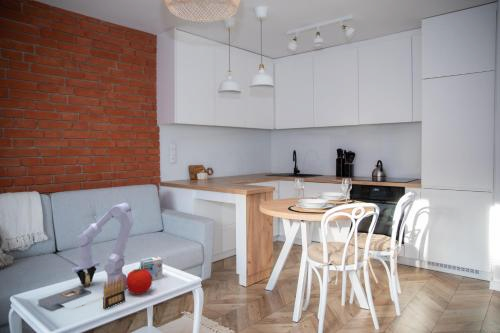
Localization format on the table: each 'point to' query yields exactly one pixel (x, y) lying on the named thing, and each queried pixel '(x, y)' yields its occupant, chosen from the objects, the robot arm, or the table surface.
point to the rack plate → (62, 298)
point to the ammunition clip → (113, 293)
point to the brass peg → (87, 280)
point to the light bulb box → (152, 266)
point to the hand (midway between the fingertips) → (86, 283)
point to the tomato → (139, 281)
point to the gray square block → (86, 287)
